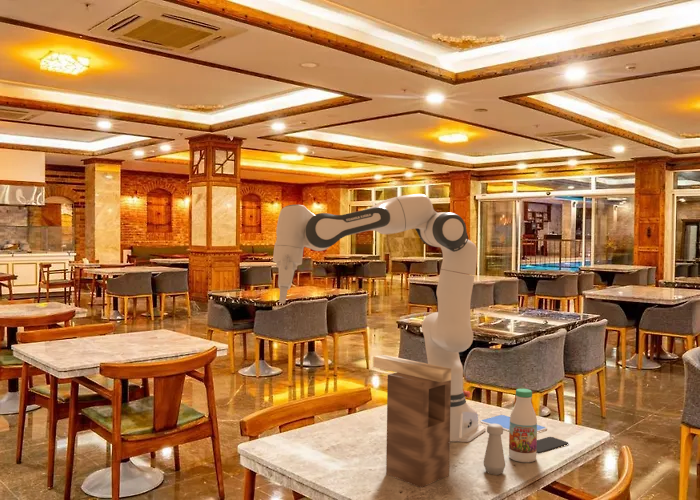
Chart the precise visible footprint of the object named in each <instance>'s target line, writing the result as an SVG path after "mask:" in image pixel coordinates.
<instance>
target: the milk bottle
mask: <svg viewBox="0 0 700 500" xmlns="http://www.w3.org/2000/svg"><path fill="white" fill-rule="evenodd" d="M515 398H516V399H515V404H514V406H513V408H512V410H511V412H510V416H509V417H510V427H509V431H508V432H509V436H508V456H509V458H510V459H511V460H513V461H516V462H518V463H533V462H535V461H536V460H537V453H536V452H537V440H538V433H537V425H538V421H537V414H536V410H534V407H533V403H532V399H533V391H532V390H531V389H528V388H517V389H515Z"/></svg>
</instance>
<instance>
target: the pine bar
mask: <svg viewBox="0 0 700 500" xmlns="http://www.w3.org/2000/svg"><path fill="white" fill-rule="evenodd" d="M372 364H373V365H372V366H373V368H377V369H380V370H385V371H391V372H393V373H397V372H398V373H402V374H406V375H411V376H415V377H420V378H424V379H428V380H433V381H437V382H446V381H449V380H451V368H446V367H441V366H436V365H431V364H428V362H427V363H426V362H421V361H416V360H410V359H405V358H401V357H397V356H392V355H387V354H380V355H379V354H378V355H373V363H372Z"/></svg>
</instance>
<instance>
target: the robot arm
mask: <svg viewBox="0 0 700 500" xmlns="http://www.w3.org/2000/svg"><path fill="white" fill-rule="evenodd" d="M413 229H414V230H415V231H416V232H417V235H418V238H419V239H420V240H421V241H422V242H423V243H424V244H426V245H427V246H430V247H435V248H440V249H441V252H442V262H441V265H440V266H441V267H440V271H439V276H438V281H437V287H436V292H435V293H436V298H437V311H435V312H432V313H429V314H427V315H426V316H425V317H424V318H423V320H422V323H421V331H422V334H423V337H424V345H425V353H426V358H427V364H431V365H436V366H441V367H446V368H451V402H450V442H463V443H467V442H468V443H469V442H471V441H472V440H474V439H475V438H476V437H478V436H480V435H481V434H482V433H484V432H485V431H487V428H486V427H485V426H484V425H482V424H481V423H479V416H478V412H477V411H476V410H475V409H474V408H473V407H472V406H470V404H468V403H467V400H466V398H470V397H471V392H470V391H469V390H468V391H467V390H463V388H464V385H463V384H464V383H463V382H464V368H463V364H462V362H461V359H460V353H463V352H465V351H467V349H469V348H470V347H471V345H472V344H473V341H474V332H473V329H472V324H471V320H472V319H471V301H472V294H473V288H474V283H475V278H476V277H475V276H476V271H477V261H478V248H477V245H476V244H475V243H474V242H473V241H472V240H470V239H469V235H468V231H467V226H466V222H465V221H464V219H463V218H462V216H460V215H458V214H456V213H455V212H446V211H445V212H442V211H441V212H437V211H436V210H435V209H434V206H433V202H432V201H431V199H430V197H428V196H427V195H426V194H423V193H414V194H404V195H399V196H395V197H392V198H391V197H390V198H388V199H386V200H385V199H384V200H382V201H379V202H378V203H375V204H373V205H372V206H370V207H368V208H366V209H362V210H358V211H357V210H356V211H353V212H349V213H345V214H332V213H328V212H327V213H326V212H323V213H322V212H321V213H317V214H314V213H313V212H311V210H309V209H308V208H307V207H306V206H305V205H303V204H288V205H286V206H284V207H282V209H281V210H280V211H279V214H278V217H277V224H276V240H275V243H274V245H273V246H274V248H273V256H272V262H274V263H275V268H277V269H278V278H277V279H278V280H277V286H278V288H279V298H278V299H279V300H278V302H279V304H283V305H285V304H286V302H287V295H288V291H289V290H291V286H292V283H293V278H294V276H295V271H297V270H298V267H299V266H301V265H302V264H303V256H304V248H307V249H310V250H312V251H316V252H322V251H326V250H327V249H329V248H330V247H332V246H333V245H335V244H337V243H338V242H339V241H340V240H341V239H342V238H344V237H347V236H351V235H356V234H360V233H364V232H369V231H370V232H371V231H373V232H377V233H378V234H381V235H393V234H398V233H402V232H405V231H409V230H413Z"/></svg>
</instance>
